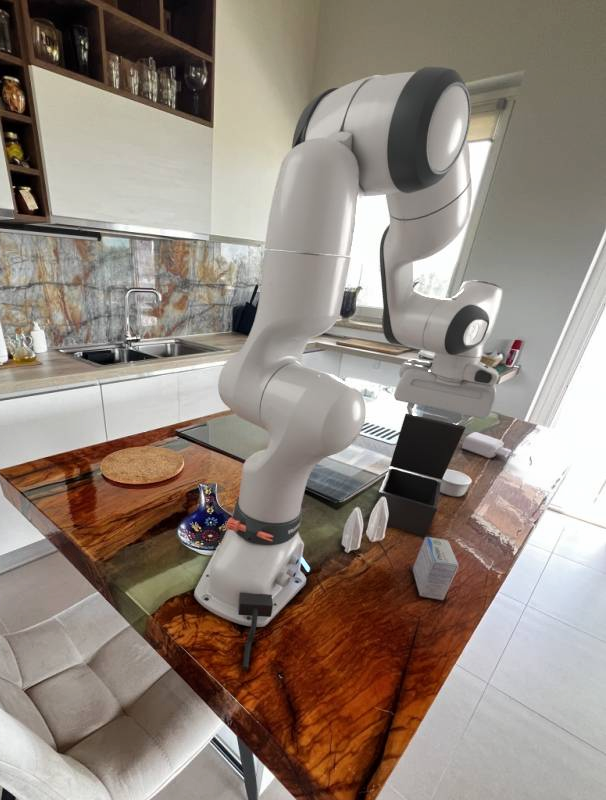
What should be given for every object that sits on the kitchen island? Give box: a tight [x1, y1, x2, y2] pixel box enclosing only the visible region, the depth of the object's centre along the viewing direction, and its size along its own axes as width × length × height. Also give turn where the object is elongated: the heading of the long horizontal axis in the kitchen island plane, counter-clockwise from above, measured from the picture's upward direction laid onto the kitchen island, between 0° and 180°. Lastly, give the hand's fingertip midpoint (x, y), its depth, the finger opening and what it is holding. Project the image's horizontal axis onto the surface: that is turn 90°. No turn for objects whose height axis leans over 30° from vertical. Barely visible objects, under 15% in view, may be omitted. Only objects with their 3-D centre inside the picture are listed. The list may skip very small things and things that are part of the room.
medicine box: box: [412, 536, 460, 601], centre depth 78 cm, size 8×4×9 cm, turn 169°
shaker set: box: [341, 497, 389, 553], centre depth 88 cm, size 12×4×11 cm, turn 116°
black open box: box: [373, 466, 441, 538], centre depth 101 cm, size 16×13×8 cm
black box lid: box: [389, 412, 466, 480], centre depth 99 cm, size 16×13×5 cm
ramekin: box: [435, 468, 473, 497], centre depth 114 cm, size 9×9×4 cm
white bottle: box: [461, 431, 517, 459], centre depth 139 cm, size 5×9×15 cm
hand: (431, 427), depth 96 cm, fingers open, 8 cm apart
